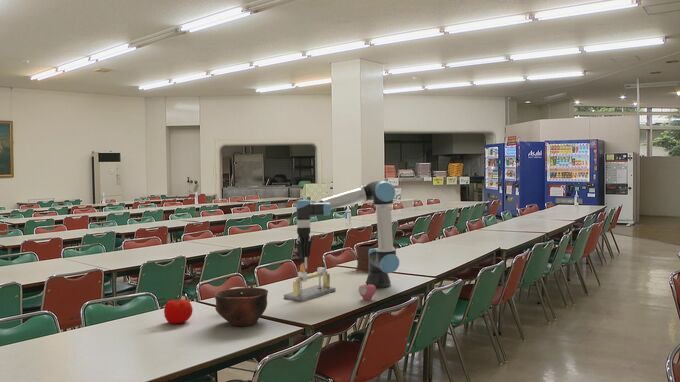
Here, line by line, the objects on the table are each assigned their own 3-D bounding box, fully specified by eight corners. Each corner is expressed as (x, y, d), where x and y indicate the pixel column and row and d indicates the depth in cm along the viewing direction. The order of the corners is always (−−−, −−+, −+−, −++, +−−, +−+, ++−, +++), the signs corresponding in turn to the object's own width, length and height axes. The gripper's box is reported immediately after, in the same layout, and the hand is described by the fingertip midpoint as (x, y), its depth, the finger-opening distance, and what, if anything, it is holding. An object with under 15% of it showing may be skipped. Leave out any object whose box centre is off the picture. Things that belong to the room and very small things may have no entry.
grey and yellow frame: (335, 291, 324) (335, 267, 324) (302, 301, 300) (302, 275, 300) (317, 288, 333) (316, 265, 332) (283, 298, 309) (283, 273, 308)
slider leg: (307, 293, 309) (306, 264, 308) (303, 294, 306) (303, 265, 306) (301, 292, 311) (301, 264, 311) (298, 293, 309) (297, 265, 308)
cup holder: (382, 271, 383) (381, 236, 382) (348, 272, 383) (347, 236, 382) (380, 266, 402) (380, 232, 401) (347, 267, 402) (347, 233, 401)
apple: (355, 300, 302) (355, 282, 301) (365, 297, 308) (365, 279, 307) (369, 302, 295) (368, 284, 295) (379, 299, 301) (378, 281, 301)
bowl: (248, 313, 278) (248, 283, 277) (279, 322, 260) (278, 291, 259) (205, 323, 260) (204, 292, 259) (234, 334, 242) (233, 300, 242)
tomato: (169, 319, 269) (168, 295, 269) (196, 318, 269) (195, 295, 269) (160, 326, 257) (159, 302, 257) (188, 326, 257) (187, 301, 256)
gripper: (305, 225, 316) (306, 266, 317) (291, 227, 306) (291, 269, 307) (316, 226, 312) (316, 267, 313) (301, 228, 301) (302, 270, 302)
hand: (304, 268), depth 310 cm, fingers closed
